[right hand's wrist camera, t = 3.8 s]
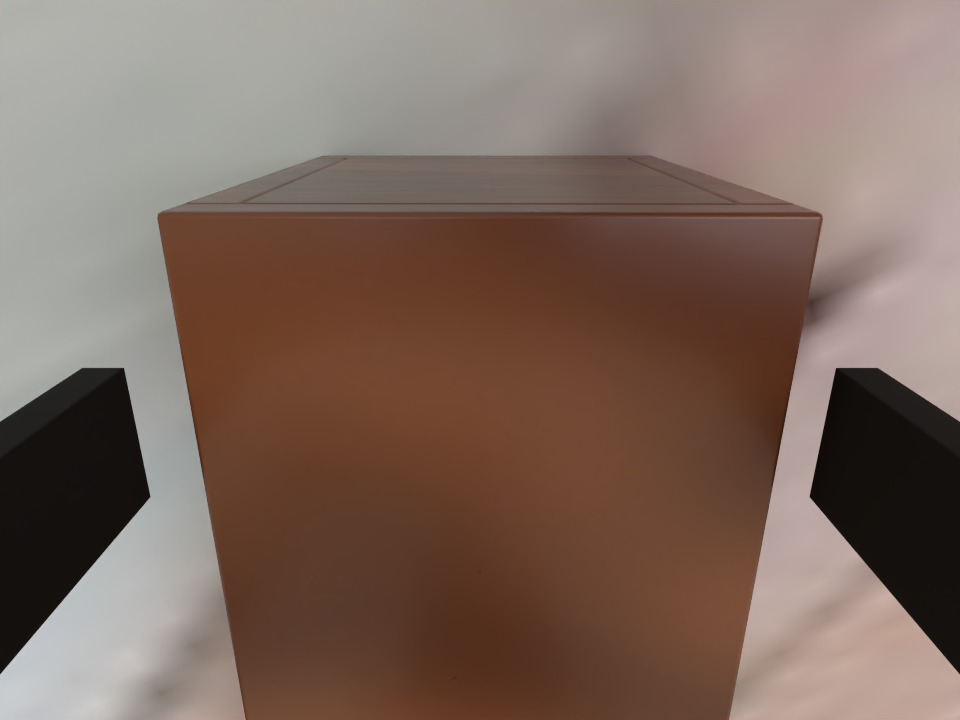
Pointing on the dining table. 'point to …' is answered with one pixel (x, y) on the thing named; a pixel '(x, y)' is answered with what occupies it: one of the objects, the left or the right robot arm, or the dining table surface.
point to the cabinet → (488, 429)
